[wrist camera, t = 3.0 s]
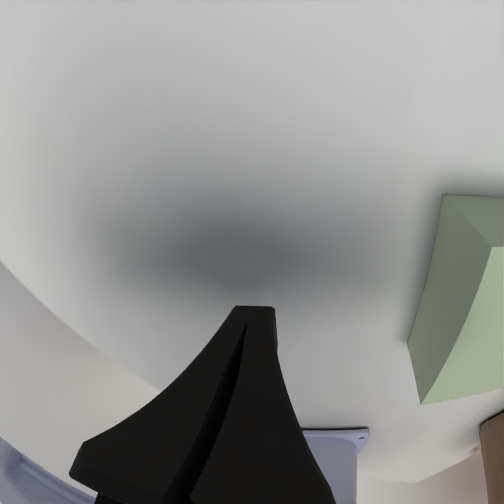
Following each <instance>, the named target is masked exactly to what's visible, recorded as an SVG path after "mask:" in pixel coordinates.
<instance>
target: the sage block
mask: <svg viewBox="0 0 504 504" xmlns="http://www.w3.org/2000/svg"><path fill="white" fill-rule="evenodd" d="M407 345H408V349H409V353H410V357H411V362H412V366H413V370H414V375H415V379H416V384H417V389H418V394H419V399H420V404H421V405H424V404H430V403H436V402H442V401H448V400H453V399H458V398H462V397H467V396H471V395H476V394H480V393H484V392H488V391H492V390H495V389H499V388H502V387H504V198H498V197H485V196H469V195H451V194H443V196H442V203H441V210H440V216H439V222H438V228H437V234H436V239H435V244H434V249H433V254H432V258H431V263H430V267H429V271H428V275H427V279H426V283H425V287H424V291H423V294H422V298H421V301H420V305H419V308H418V312H417V315H416V318H415V321H414V324H413V327H412V330H411V333H410V336H409V339H408V342H407Z"/></svg>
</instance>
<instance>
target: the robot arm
mask: <svg viewBox="0 0 504 504" xmlns="http://www.w3.org/2000/svg"><path fill="white" fill-rule="evenodd" d="M277 346H278V342H277V329H276V317H275V309H274V308H273V307H271V306H235V307H234V308H233V309H232V311H231V312H230V314H229V315H228V317H227V318H226V320H225V321H224V323H223V324H222V325H221V327H220V328H219V329H218V331H217V332H216V334H215V335H214V336H213V337H212V339H211V340H210V341H209V342H208V344H207V345H206V346H205V348H204V349H203V350H202V351H201V352H200V354H199V355H198V356H197V357H196V358H195V359H194V360H193V361H192V363H191V364H190V365H189V366H188V367H187V368H186V369H185V370H184V371H183V372H182V373H181V374H180V375H179V376H178V377H177V378H176V379H175V380H174V381H173V382H172V383H171V384H170V385H169V386H168V387H167V388H166V389H165V390H163V391H162V392H161V393H160V394H159V395H158V396H156V397H155V398H154V399H153V400H152V401H150V402H149V403H148V404H146V405H145V406H144V407H143V408H141V409H140V410H138V411H137V412H135V413H134V414H132V415H131V416H129V417H128V418H126V419H125V420H123V421H122V422H120V423H119V424H117V425H115V426H114V427H112V428H110V429H109V430H107V431H105V432H103V433H101V434H99V435H97V436H95V437H93V438H91V439H89V440H87V441H85V442H83V444H82V445H81V447H80V449H79V451H78V453H77V456H76V458H75V460H74V462H73V465H72V467H71V469H70V472H69V475H70V477H71V478H72V479H74V480H76V481H78V482H80V483H81V484H83V485H85V486H87V487H89V488H91V489H92V490H94V491H96V492H98V495H97V497H96V498H94V497H92V496H90V495H88V494H86V493H84V492H82V491H80V490H79V489H77V488H75V487H73V486H71V485H70V484H67V483H66V482H64V481H63V480H61V479H59V478H58V477H56V476H54V475H52V474H51V473H49V472H48V471H46V470H45V469H44V468H43V467H41V466H39V465H38V464H37V463H35V462H34V461H32V460H31V459H29V458H28V457H27V456H25V455H24V454H22V453H21V452H19V451H18V450H17V449H15V448H14V447H13V446H11V445H10V444H9V443H7V442H6V441H5V440H4V439H2V438H1V437H0V501H1V502H2V504H356V490H357V455H358V453H359V452H360V450H361V448H362V446H363V445H364V443H365V441H366V440H367V438H368V436H369V430H367V429H359V430H334V431H302V430H301V427H300V425H299V423H298V420H297V418H296V415H295V413H294V410H293V407H292V405H291V402H290V399H289V396H288V393H287V390H286V386H285V383H284V380H283V376H282V372H281V369H280V364H279V360H278V355H277Z"/></svg>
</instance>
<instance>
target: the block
mask: <svg viewBox="0 0 504 504" xmlns="http://www.w3.org/2000/svg"><path fill="white" fill-rule="evenodd" d="M480 442H481V451H482V457H483V463H484V469H485V476H486V484H487V494H488V504H504V412H503V413H501V414H499V415H497V416H495V417H493V418H491V419H489V420H487V421H486V422H485V423H484V424H483V425H482V426H481V429H480Z"/></svg>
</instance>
